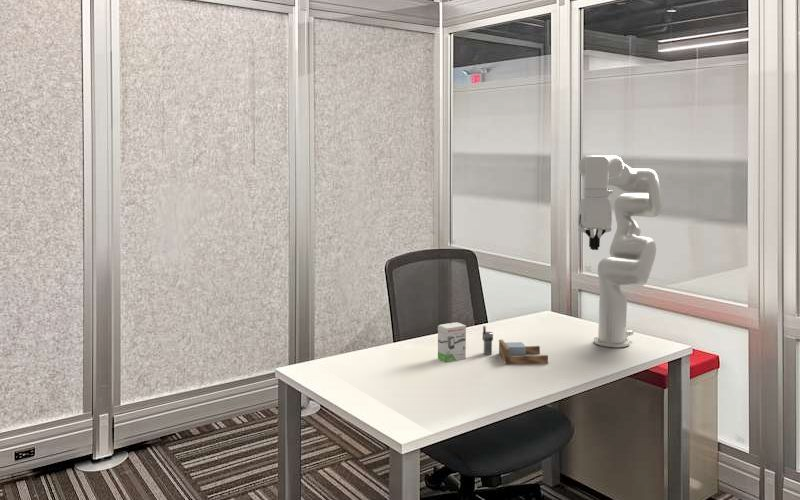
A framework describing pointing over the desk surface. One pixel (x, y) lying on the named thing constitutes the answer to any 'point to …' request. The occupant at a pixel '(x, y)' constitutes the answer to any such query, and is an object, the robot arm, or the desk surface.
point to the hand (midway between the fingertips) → (594, 249)
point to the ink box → (451, 342)
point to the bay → (528, 359)
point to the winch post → (487, 341)
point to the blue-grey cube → (517, 348)
